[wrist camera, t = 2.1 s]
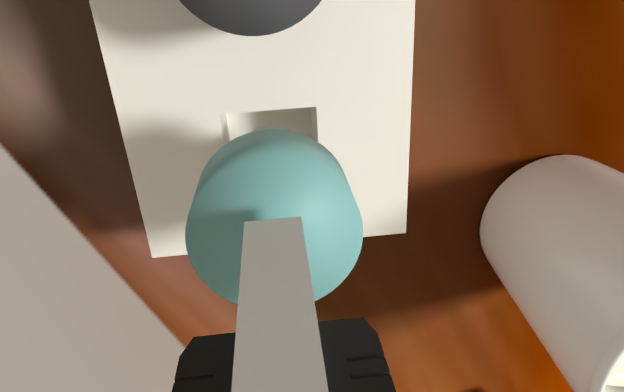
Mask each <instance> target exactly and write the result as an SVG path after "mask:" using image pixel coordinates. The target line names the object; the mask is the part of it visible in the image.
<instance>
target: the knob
mask: <svg viewBox="0 0 624 392" xmlns="http://www.w3.org/2000/svg"><path fill="white" fill-rule="evenodd" d="M300 216H301V219H302V226H303V232H304V238H305V245H306V251H307V257H308V264H309V270H310V276H311V283H312V289H313V295H314V302H315V301H316V300H318V299H320V298H322V297H324V296H326V295H327V294H329V293H330V292H332V291H333V290H334V289H335V288H336V287H338V286H339V285H340V284H341V283H342V282H343V281H344V279H345V278H346V277H347V276H348V275H349V273H350V272H351V270H352V269H353V267H354V265H355V263H356V262H357V259H358V257H359V254H360V251H361V247H362V242H363V222H362V218H361V214H360V211H359V208H358V206H357V203H356V201H355V198H354V196H353V193H352V191H351V188H350V186H349V183H348V181H347V179H346V176H345V174H344V171H343V169H342V167H341V166H340V164H339V162H338V161H337V159H336V158H335V157H334V156H333V154H332V153H331V152H330V151H329V150H328V149H327V148H325V147H324V146H323V145H321V144H320V143H319V142H317V141H316V140H314V139H312V138H310V137H308V136H305V135H303V134H300V133H297V132H293V131H289V130H287V129H286V128H283V127H279V126H264V127H260V128H258V129H255V130H254V131H252V132H250V133H247V134H244V135H242V136H239V137H237V138H235V139H233V140H231V141H230V142H228V143H226V144H225V145H224V146H223V147H221V148H220V149H219V150H218V151H217V152H216V153H215V154H214V155H213V156H212V157H211V158H210V160H209V161H208V163H207V164H206V166H205V168H204V169H203V171H202V173H201V176H200V179H199V182H198V185H197V188H196V191H195V195H194V198H193V201H192V204H191V208H190V211H189V214H188V217H187V222H186V228H185V243H186V250H187V253H188V257H189V260H190V262H191V264H192V266H193V268H194V270H195V271H196V273H197V274H198V276H199V277H200V278H201V280H202V281H203V282H204V283H205V284H206V285H207V286H208V287H209V288H210V289H211V290H212V291H214V292H215V293H217V294H218V295H220V296H221V297H223V298H225V299H226V300H228V301H230V302H232V303H235V304H238V296H239V283H240V270H241V257H242V244H243V231H244V222H247V221H257V220H268V219H278V218H289V217H300Z"/></svg>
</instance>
